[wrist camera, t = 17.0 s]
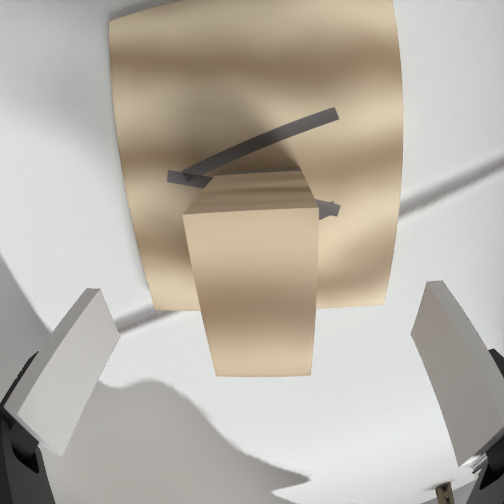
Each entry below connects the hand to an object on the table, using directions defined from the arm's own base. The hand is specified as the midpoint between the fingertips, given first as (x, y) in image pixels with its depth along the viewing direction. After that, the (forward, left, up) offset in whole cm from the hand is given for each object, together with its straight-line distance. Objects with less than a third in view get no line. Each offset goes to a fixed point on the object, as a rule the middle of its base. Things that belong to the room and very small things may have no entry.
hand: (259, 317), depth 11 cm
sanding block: (+1, 0, -9) cm, 9 cm away
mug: (+88, +54, -11) cm, 103 cm away
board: (-4, 0, -10) cm, 11 cm away
